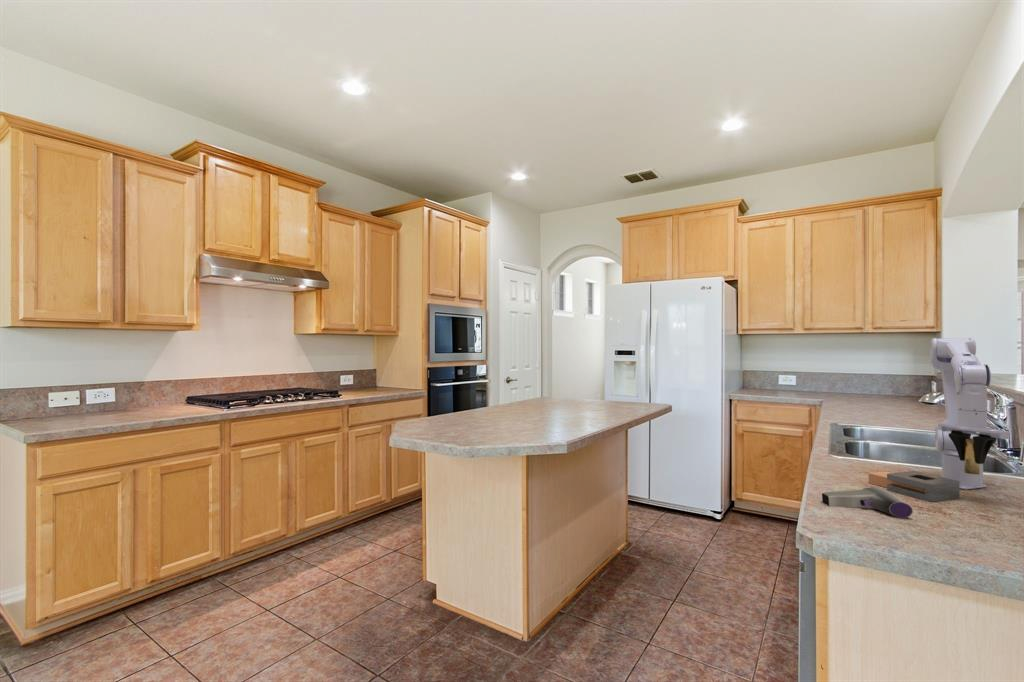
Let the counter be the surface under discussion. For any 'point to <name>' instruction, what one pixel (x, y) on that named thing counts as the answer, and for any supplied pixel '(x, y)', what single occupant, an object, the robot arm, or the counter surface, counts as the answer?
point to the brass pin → (970, 457)
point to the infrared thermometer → (869, 501)
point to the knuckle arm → (888, 481)
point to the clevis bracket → (925, 486)
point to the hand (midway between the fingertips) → (971, 461)
